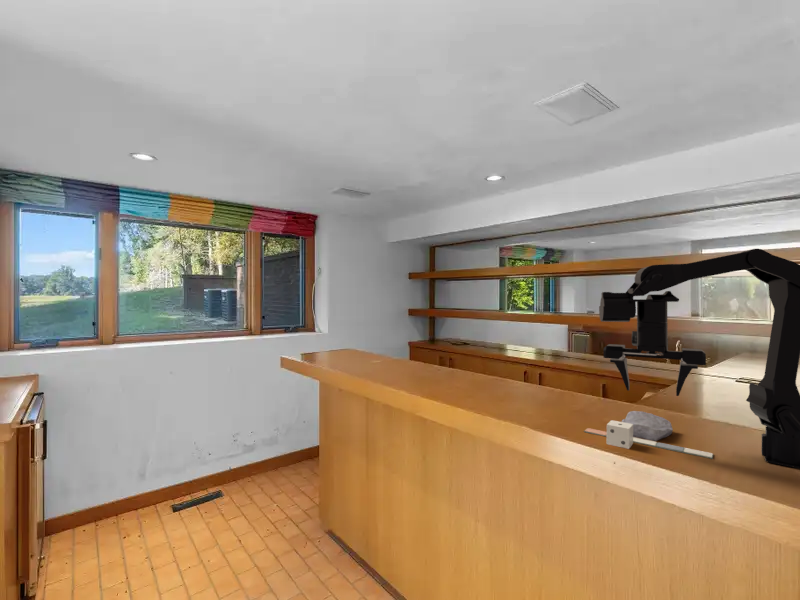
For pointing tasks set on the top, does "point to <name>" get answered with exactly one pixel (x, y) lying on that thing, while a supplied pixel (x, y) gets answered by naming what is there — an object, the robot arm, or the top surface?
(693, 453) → the strip
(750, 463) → the top surface
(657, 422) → the stone block
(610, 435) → the die
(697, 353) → the robot arm
